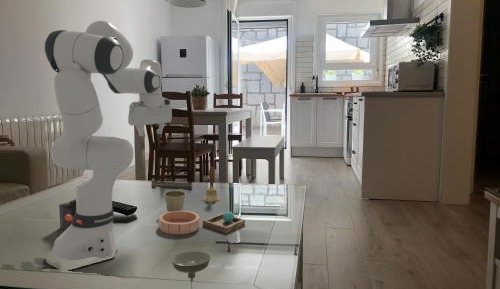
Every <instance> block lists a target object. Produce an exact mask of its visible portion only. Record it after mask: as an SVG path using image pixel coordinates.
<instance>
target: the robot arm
mask: <svg viewBox="0 0 500 289" xmlns="http://www.w3.org/2000/svg"><path fill="white" fill-rule="evenodd" d="M44 53H45V56H46V59H47V61H48V62H49V65H50V67H51V68H52V70H53V71H54V72H56V74H55V75H54V78H53V81H54V82H53V84H54V93H55V100H56V104H57V106H58V110H59V113H60V116H61V120H62V124H63V132H62V134H61V135H60V136H59V137H57V138H56V139H55V140H54V142H53V143H52V145H51V146H50V156H51V159H52V161H53V163H54V164H55V165H56V166H57V167H61V168H65V169H68V170H69V169H70V170H79V171H80V170H82V171H92V177H91V178H88V179H87V180H84V181H83V182H81V183H80V184H79V185H78V188H77V187H76V191H75V199H76V212H75V214H74V217H73V216H72V215H70V214H67V215H66V216H65V219H66V220H68V221H72V224H71V225H70V226H69V227H68V228H67V229H66V230H63V232H62V233H61V234H60V235H59V236H58V237H57V238H55V240H54V243H53V246H52V247H53V248H52V253H53V255H55V256H58V257H60V258H63V259H67V260H79V259H85V258H90V257H98V258H108V257H113V256H115V257H116V253H115V251H116V250H117V249H118V250H119V246H118V245H117V241H116V236H115V231H114V220H115V216H114V208H113V189H114V185H115V182H116V180H117V178H118V177H119V176H120V175H121V173H123V172H124V171H125V170H127V169H128V168H129V167H130V165H131V164H132V163H133V161H134V156H135V152H134V147H133V146H132V144H131V142H130V141H129V140H128V139H124V138H120V137H116V136H101V135H99V136H98V135H94V134H95V133H96V132H98V131H99V129H101V127H102V126H103V122H104V121H103V120H104V119H103V118H104V117H103V114H102V109H101V105H100V102H99V98H98V94H97V91H96V88H95V86H94V83H93V82H92V78H91V77H92V74H100V75H102V76H103V78H104V79H105V81H106V82H107V85H108V88H109V89H110V90H111V91H112V92H113V93H114V94H117V95H118V94H133V95H135V94H137V95H139V98H138V99H139V100H138V101H132V103H130V104H129V107H128V108H129V109H128V116H127V117H128V118H127V123H128V125H129V126H133V127H135V128H136V130H137V132H138V136H139V137H144V136H145V131H143V126H147V125H156V124H158V126H159V127H158V128H157V129H156V134H157V135H162V134H163V130H164V128H165V124H166V123H171V121H172V118H173V111H172V107H171V105H172V100H171V99H168V98H166V97H164V96H163V95H162V94H163V93H162V83H163V77H162V75H163V74H162V66H161V62H159V61H158V60H157V61H156V60H152V59H142V60H141V61H140V64H139V68H137V67H136V68H135V67H128V66H129V65H130V64H131V62H132V61H133V56H134V49H133V47H132V44H131V43H130V41H129V40H128V39H127V38H126V36H125V35H124V34H123V33H122V32H121V31H120V29H118V28H117V27H116V26H114V25H113V24H111V23H110V22H108V21H106V20H97V21H94V22H92V23H90V24H89V25H88V26H87V28H86V30H85V32H83V31H75V30H74V31H73V30H67V29H60V30H53V31H52V32H50V33H49V34H48V36H47V38H46V39H45V41H44ZM118 250H117V251H118ZM108 255H109V256H108ZM106 256H108V257H106Z"/></svg>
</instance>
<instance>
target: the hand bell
mask: <svg viewBox="0 0 500 289" xmlns="http://www.w3.org/2000/svg"><path fill="white" fill-rule="evenodd" d="M208 176H209V187H208V188H207V189H206V193H205V195H204V197H203V198H202V200H203V202H206V203H217V202H219V201H220V200H221V198H220V197H219V196H218V193H217V192H218V191H217V188H215V187H214V179H215V169H214V166H211V167H210V168H209V172H208Z"/></svg>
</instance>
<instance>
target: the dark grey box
mask: <svg viewBox="0 0 500 289" xmlns="http://www.w3.org/2000/svg"><path fill="white" fill-rule="evenodd" d="M78 186H79V185H78ZM78 186H77V187H76V189H77V188H78ZM58 209H59V229H61V230H62V231H65V230H66V229H67V228H68V227H69V226H70V225H71V224H72V221H68V220H66V219H65V216H66V215H67V214H70V215H72V216H73V217H74V214H75V212H76V198H75V199H73V200H70V201H69V202H65V203H61V204H59V207H58Z"/></svg>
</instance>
